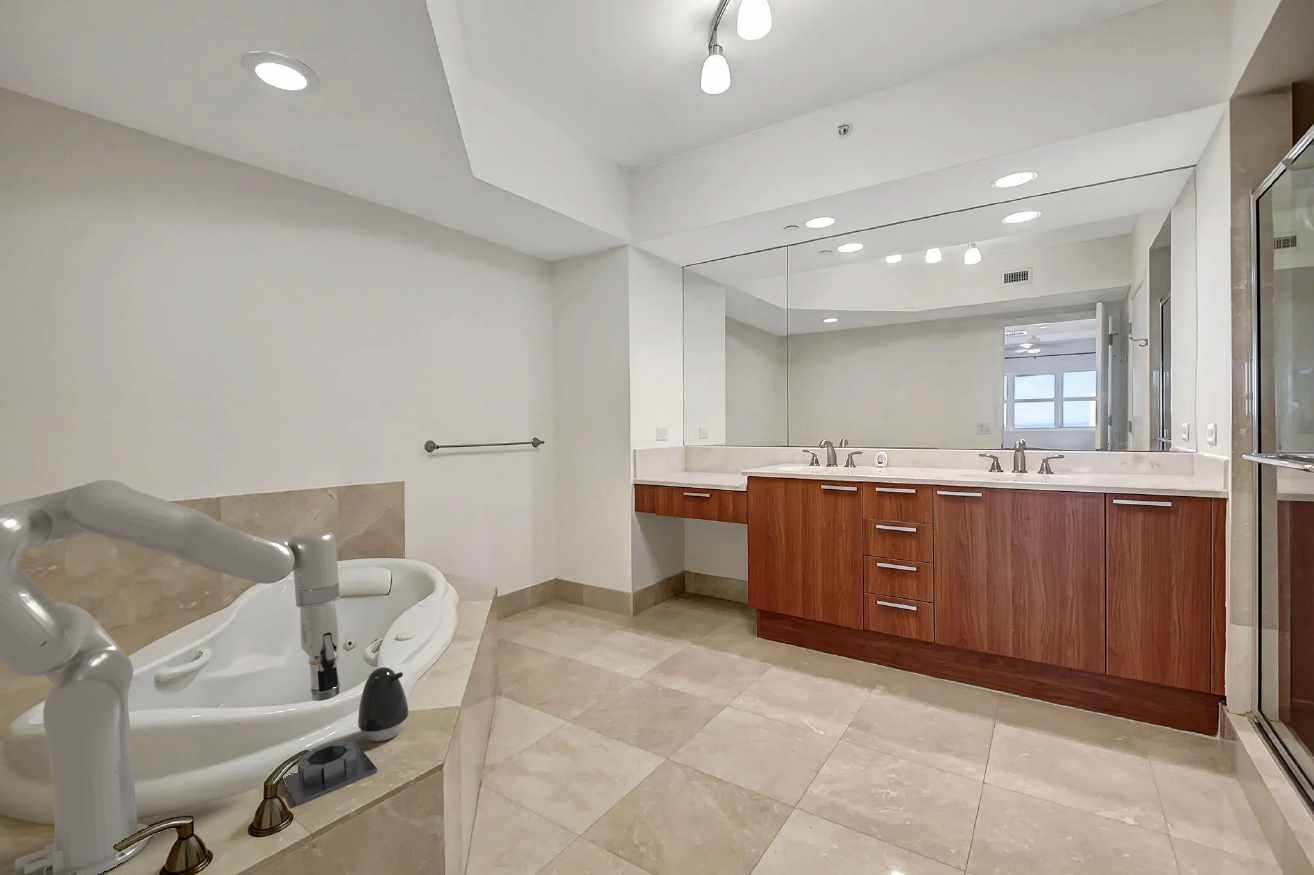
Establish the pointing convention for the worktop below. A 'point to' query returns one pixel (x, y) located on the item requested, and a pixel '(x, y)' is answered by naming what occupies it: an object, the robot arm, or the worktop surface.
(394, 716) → the pump dispenser
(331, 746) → the bore block
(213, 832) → the worktop surface
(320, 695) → the piston
